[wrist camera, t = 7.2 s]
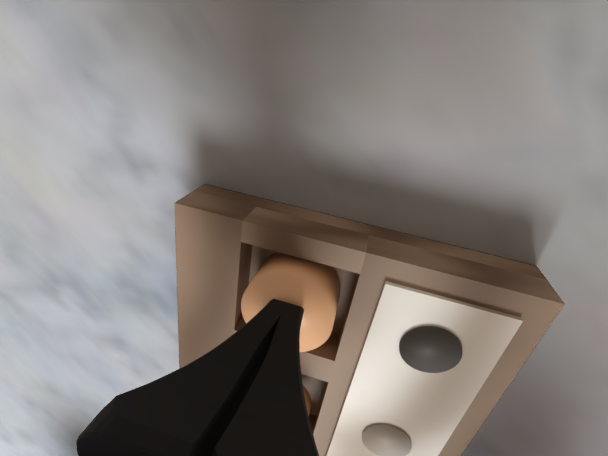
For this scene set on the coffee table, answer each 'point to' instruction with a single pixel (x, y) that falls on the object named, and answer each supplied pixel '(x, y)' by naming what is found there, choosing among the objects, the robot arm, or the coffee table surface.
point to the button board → (369, 320)
